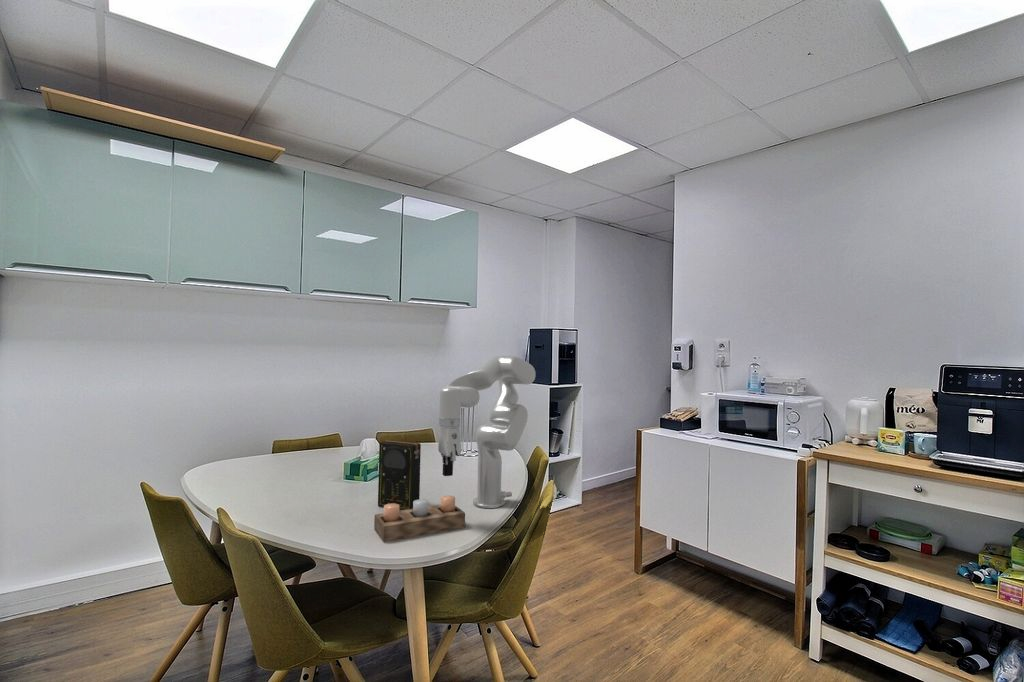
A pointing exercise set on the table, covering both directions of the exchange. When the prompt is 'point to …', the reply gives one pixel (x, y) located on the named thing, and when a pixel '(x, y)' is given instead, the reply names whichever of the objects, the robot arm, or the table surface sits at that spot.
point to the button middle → (420, 508)
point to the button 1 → (391, 512)
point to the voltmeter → (399, 473)
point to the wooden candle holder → (418, 523)
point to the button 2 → (447, 504)
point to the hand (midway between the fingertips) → (447, 475)
